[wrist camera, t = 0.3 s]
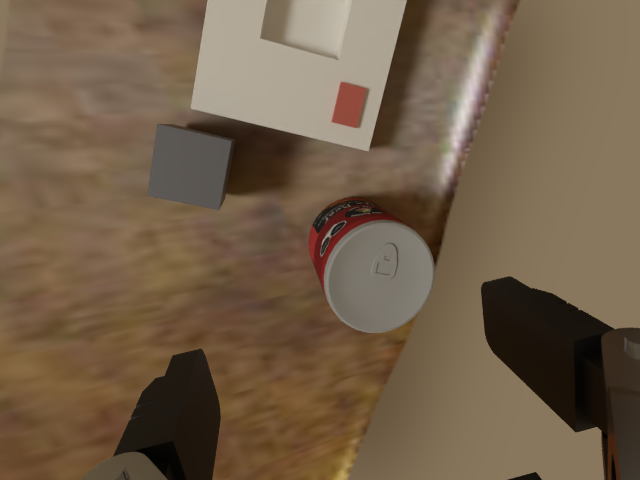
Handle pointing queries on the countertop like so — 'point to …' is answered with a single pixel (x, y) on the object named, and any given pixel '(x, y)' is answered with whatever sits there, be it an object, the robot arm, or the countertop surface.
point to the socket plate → (298, 65)
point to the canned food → (370, 265)
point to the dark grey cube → (190, 166)
